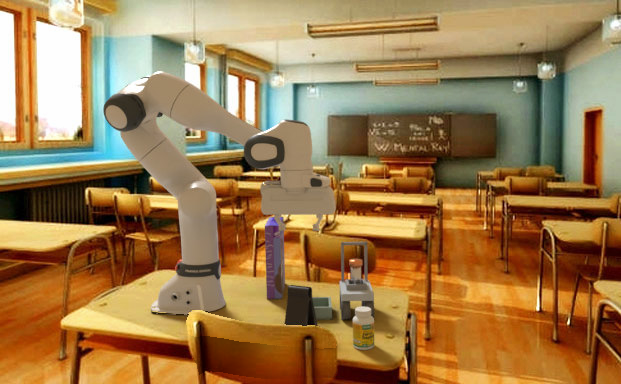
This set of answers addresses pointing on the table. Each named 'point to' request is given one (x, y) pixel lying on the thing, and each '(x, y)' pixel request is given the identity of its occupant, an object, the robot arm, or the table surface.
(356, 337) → the supplement bottle
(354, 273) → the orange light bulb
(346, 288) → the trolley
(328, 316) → the bin
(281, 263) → the cereal box
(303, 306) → the phone stand
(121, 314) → the table surface
